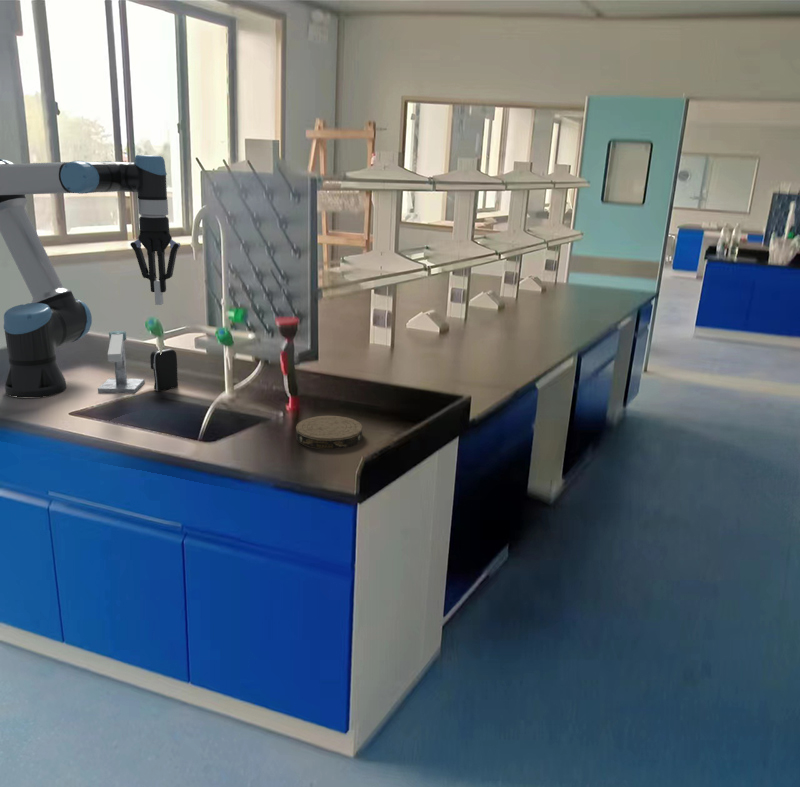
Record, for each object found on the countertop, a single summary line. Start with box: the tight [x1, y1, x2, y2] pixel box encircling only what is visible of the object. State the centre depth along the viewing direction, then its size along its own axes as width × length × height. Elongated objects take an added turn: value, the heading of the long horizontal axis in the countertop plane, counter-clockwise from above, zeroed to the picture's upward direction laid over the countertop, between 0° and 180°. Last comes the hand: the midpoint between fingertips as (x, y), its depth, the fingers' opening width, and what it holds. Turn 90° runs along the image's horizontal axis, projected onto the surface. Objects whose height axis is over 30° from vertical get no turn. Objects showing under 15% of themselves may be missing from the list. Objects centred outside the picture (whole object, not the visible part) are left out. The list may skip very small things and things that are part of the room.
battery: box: [149, 348, 179, 392], centre depth 207 cm, size 7×4×11 cm, turn 142°
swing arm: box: [107, 330, 127, 363], centre depth 194 cm, size 26×4×2 cm, turn 18°
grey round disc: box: [295, 415, 363, 450], centre depth 177 cm, size 16×16×3 cm
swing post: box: [97, 341, 146, 394], centre depth 206 cm, size 10×10×14 cm
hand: (159, 303), depth 202 cm, fingers closed
